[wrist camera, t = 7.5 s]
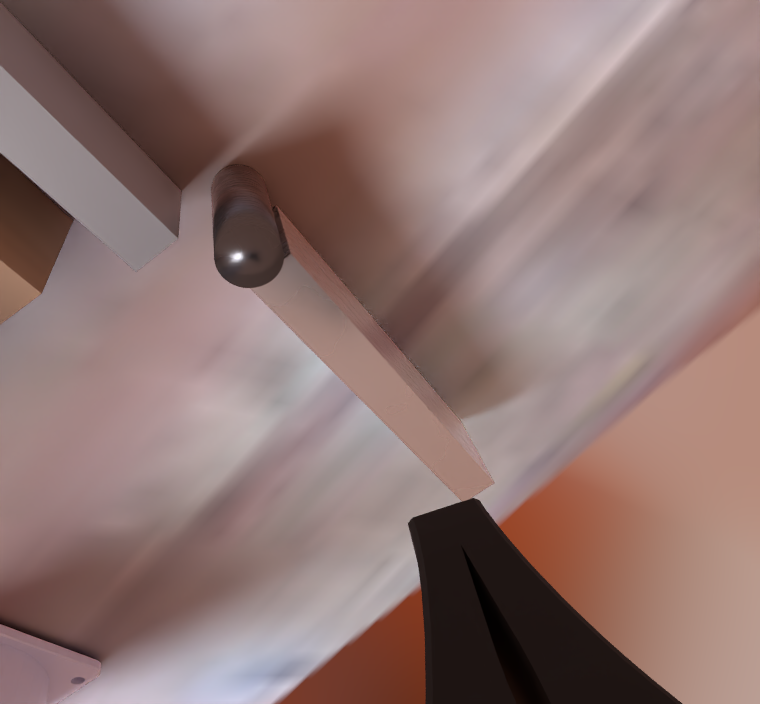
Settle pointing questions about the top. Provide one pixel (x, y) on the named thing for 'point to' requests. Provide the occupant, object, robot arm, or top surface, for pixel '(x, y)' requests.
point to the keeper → (336, 326)
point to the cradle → (81, 152)
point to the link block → (26, 239)
